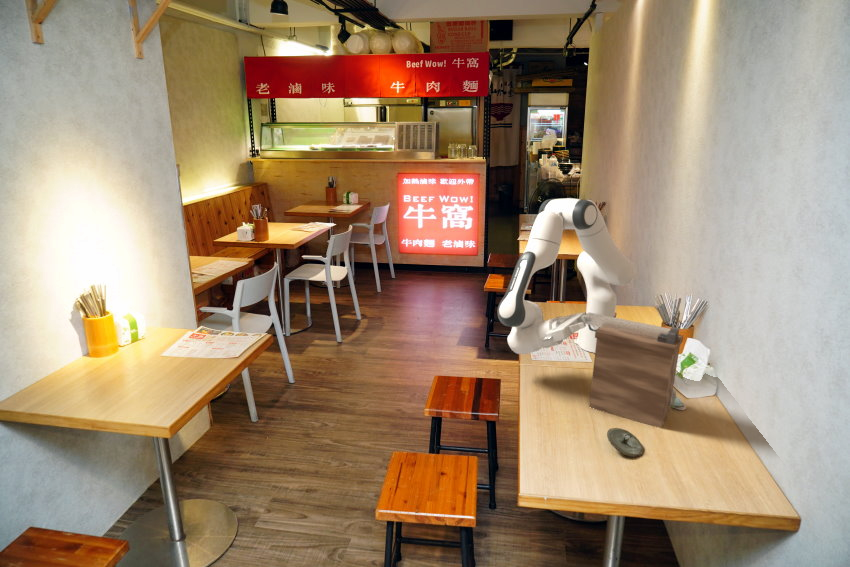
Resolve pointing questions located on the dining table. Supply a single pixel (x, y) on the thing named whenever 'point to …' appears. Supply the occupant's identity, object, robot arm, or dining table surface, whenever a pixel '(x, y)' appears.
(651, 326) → the aluminium bar
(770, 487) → the dining table surface
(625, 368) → the walnut stand
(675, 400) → the pacifier
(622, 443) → the lid
